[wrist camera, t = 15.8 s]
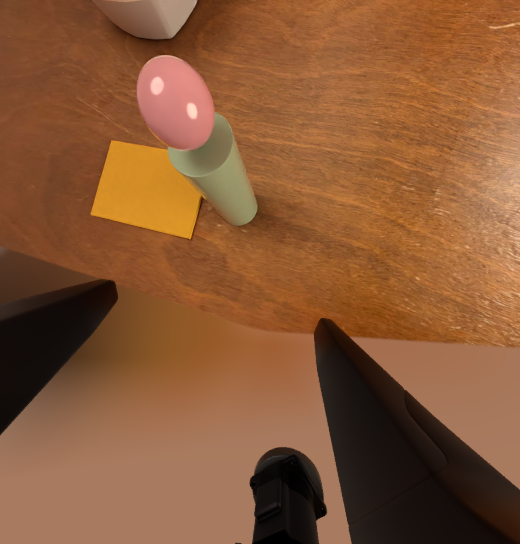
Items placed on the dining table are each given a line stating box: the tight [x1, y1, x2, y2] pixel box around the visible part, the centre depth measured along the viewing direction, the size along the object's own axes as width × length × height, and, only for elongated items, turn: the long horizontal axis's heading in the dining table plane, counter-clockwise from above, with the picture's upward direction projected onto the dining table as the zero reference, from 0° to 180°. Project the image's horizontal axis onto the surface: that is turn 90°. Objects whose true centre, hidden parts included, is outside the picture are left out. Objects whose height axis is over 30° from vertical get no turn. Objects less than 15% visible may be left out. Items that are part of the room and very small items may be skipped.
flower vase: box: [136, 55, 258, 226], centre depth 15 cm, size 4×4×14 cm
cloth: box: [91, 140, 202, 239], centre depth 23 cm, size 14×10×1 cm
